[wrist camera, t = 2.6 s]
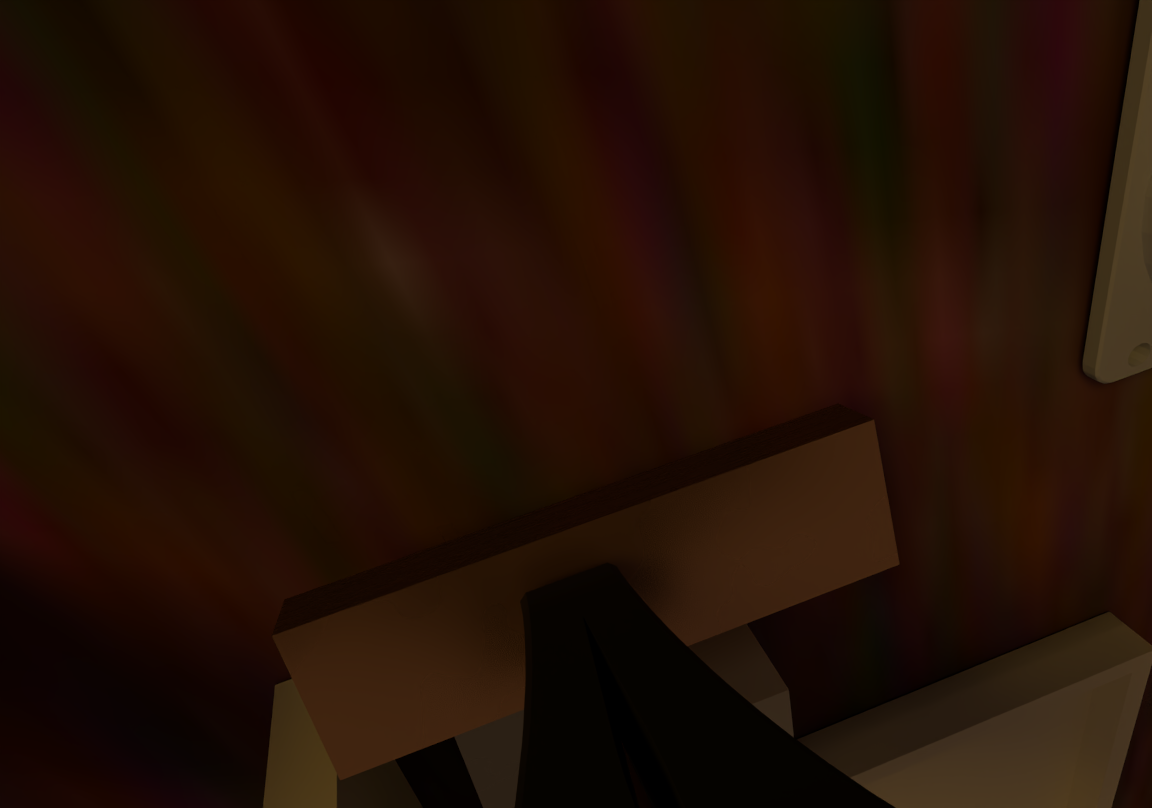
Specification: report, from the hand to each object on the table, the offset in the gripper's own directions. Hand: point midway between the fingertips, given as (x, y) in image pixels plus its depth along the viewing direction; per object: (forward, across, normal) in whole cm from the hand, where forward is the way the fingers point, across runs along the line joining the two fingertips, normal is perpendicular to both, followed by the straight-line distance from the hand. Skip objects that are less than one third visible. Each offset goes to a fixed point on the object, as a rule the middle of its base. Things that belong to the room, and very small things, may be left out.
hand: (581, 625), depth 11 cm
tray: (+3, -9, +15) cm, 18 cm away
